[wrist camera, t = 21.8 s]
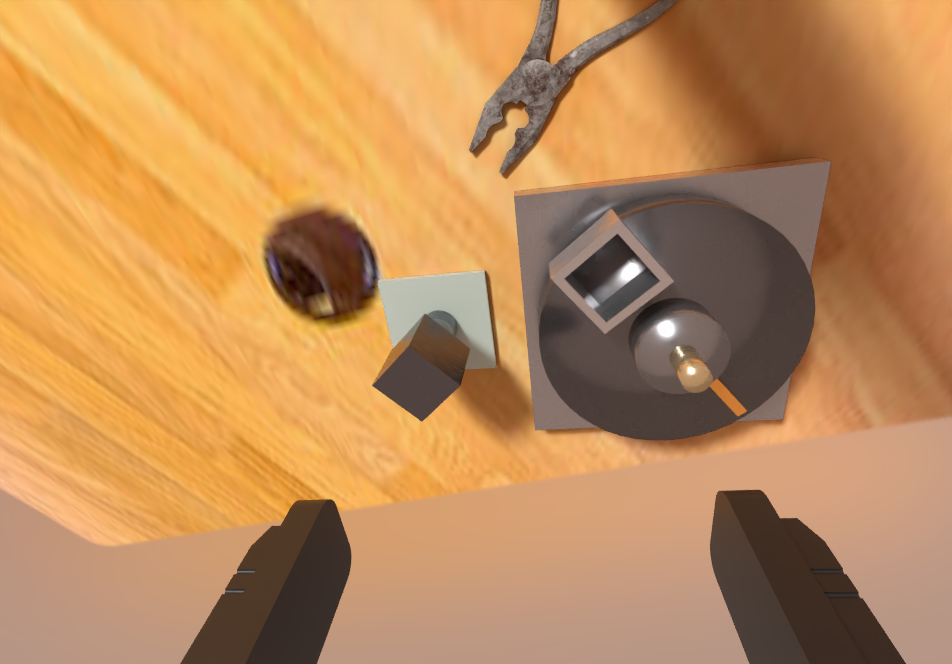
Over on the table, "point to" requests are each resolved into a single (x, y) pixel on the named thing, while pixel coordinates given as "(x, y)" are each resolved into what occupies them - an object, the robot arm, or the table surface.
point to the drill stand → (578, 206)
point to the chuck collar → (674, 317)
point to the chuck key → (424, 365)
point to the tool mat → (443, 309)
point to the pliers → (549, 75)
